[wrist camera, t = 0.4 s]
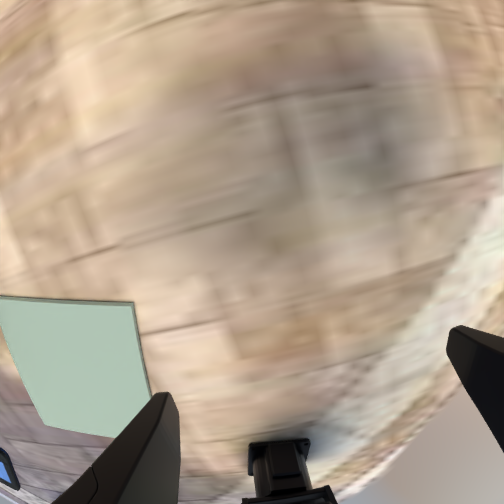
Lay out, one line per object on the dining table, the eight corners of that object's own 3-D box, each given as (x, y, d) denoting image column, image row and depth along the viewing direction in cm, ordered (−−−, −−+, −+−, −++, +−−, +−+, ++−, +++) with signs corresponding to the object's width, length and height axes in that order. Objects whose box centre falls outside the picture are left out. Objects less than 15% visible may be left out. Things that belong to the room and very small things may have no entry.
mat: (162, 437, 27) (161, 442, 27) (46, 421, 26) (45, 424, 26) (133, 302, 22) (131, 306, 22) (-5, 295, 21) (-9, 298, 20)
